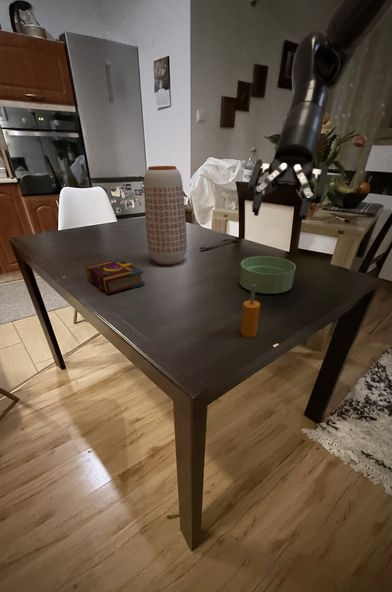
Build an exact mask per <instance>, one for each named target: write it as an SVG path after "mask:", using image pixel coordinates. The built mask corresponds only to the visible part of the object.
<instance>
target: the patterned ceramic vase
mask: <svg viewBox="0 0 392 592" xmlns="http://www.w3.org/2000/svg"><path fill="white" fill-rule="evenodd" d="M143 177H144V178H143V186H144V187H143V197H144V198H143V199H144V215H145V229H146V241H147V250H148V253H149V256H150V257H151V258H152V260H153V261H154V262H155V263H156V264H157V265H160V266H168V267H169V266H175V265H178V264H180V263H181V262H182V260H184V258H185V256H186V254H187V251H188V241H187V240H188V239H187V221H186V220H187V219H186V208H185V206H186V205H185V196H184V195H185V194H184V185H183V179H182V175H181V172H180V170H179V169H178V168H177V166H175V165H152V166H148V167H147V170H145V173H144V176H143Z"/></svg>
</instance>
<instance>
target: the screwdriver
mask: <svg viewBox="0 0 392 592" xmlns="http://www.w3.org/2000/svg"><path fill="white" fill-rule="evenodd" d="M255 288H256V285H252V291H250V299H249V300H245V301H243V303H242V312H241V324H240V334H241V336H242V337H245V338H254V337H255V336H257V332H258V326H259V325H258V324H259V319H260V312H261V311H260V310H261V303H260V302H259V301H257V300H255V295H256V292H255Z"/></svg>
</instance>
